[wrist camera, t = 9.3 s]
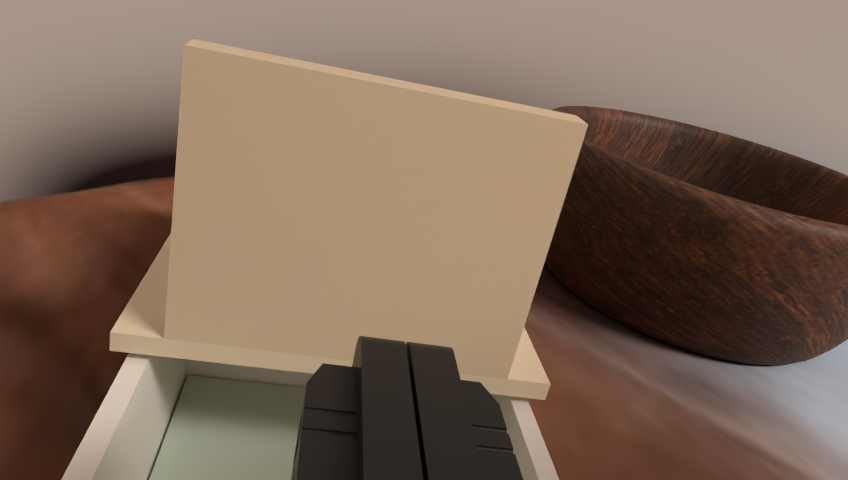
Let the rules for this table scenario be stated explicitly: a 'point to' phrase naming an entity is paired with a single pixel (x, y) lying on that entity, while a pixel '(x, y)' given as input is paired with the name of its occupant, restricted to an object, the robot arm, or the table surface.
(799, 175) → the wooden bowl
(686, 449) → the table surface
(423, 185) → the lid
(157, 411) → the mailer box
